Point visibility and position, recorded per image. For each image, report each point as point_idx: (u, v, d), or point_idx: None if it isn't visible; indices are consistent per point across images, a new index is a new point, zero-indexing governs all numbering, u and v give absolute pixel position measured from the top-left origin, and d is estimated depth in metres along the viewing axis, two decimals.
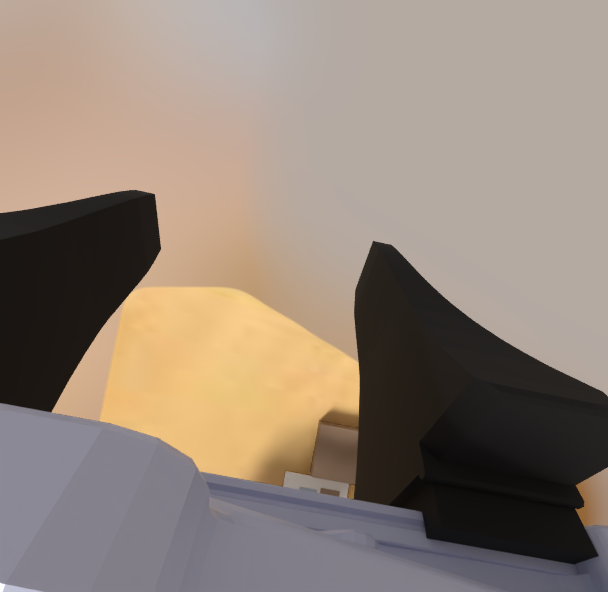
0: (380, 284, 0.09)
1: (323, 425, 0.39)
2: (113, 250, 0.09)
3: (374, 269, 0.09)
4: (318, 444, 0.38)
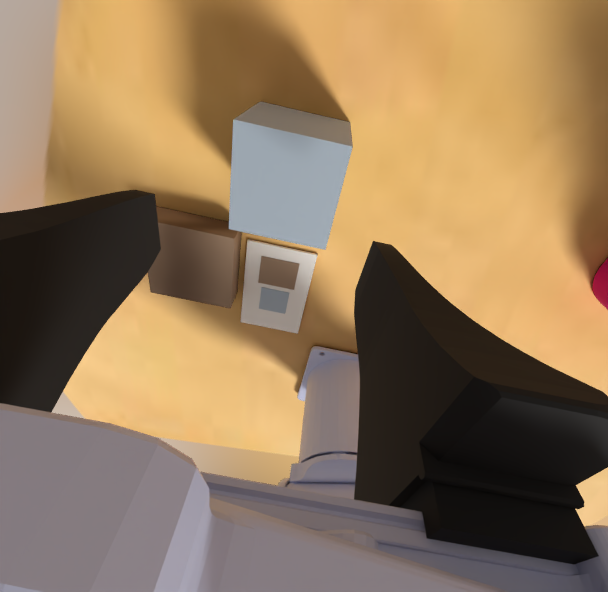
0: (380, 284, 0.09)
1: (152, 288, 0.24)
2: (113, 250, 0.09)
3: (374, 269, 0.09)
4: (182, 297, 0.24)
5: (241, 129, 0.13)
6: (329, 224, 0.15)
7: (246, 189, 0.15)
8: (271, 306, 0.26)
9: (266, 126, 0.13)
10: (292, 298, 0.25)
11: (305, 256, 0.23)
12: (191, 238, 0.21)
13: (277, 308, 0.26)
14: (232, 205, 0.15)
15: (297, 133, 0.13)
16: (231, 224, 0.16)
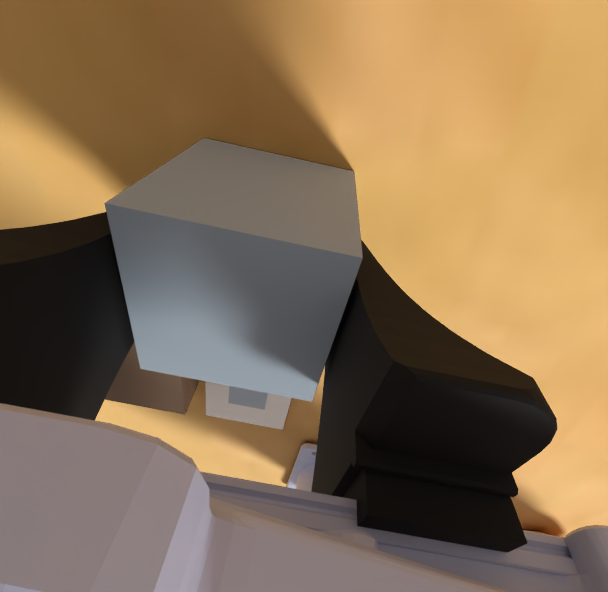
0: None
1: None
2: None
3: None
4: (116, 399, 0.17)
5: (126, 221, 0.06)
6: (317, 371, 0.08)
7: (159, 317, 0.08)
8: (245, 401, 0.19)
9: (178, 216, 0.06)
10: None
11: None
12: None
13: (253, 403, 0.19)
14: (139, 338, 0.08)
15: (245, 230, 0.06)
16: (143, 363, 0.09)
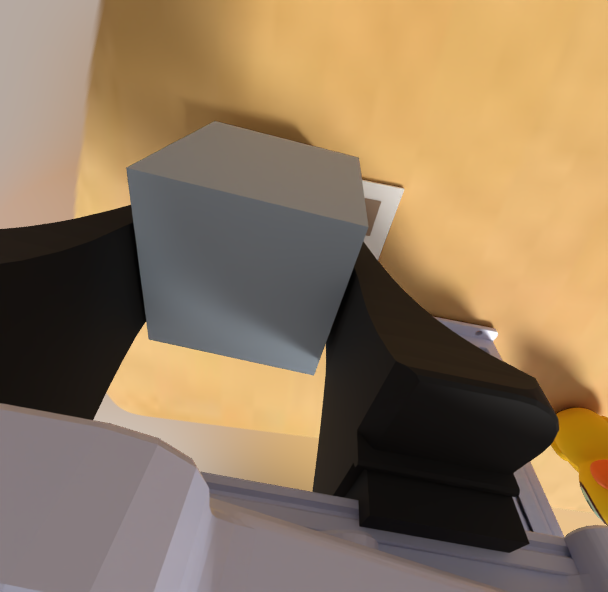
0: None
1: None
2: None
3: None
4: None
5: (145, 187, 0.07)
6: (321, 343, 0.09)
7: (170, 286, 0.08)
8: None
9: (195, 182, 0.07)
10: None
11: (389, 191, 0.19)
12: None
13: None
14: (149, 307, 0.09)
15: (258, 198, 0.07)
16: (152, 333, 0.09)
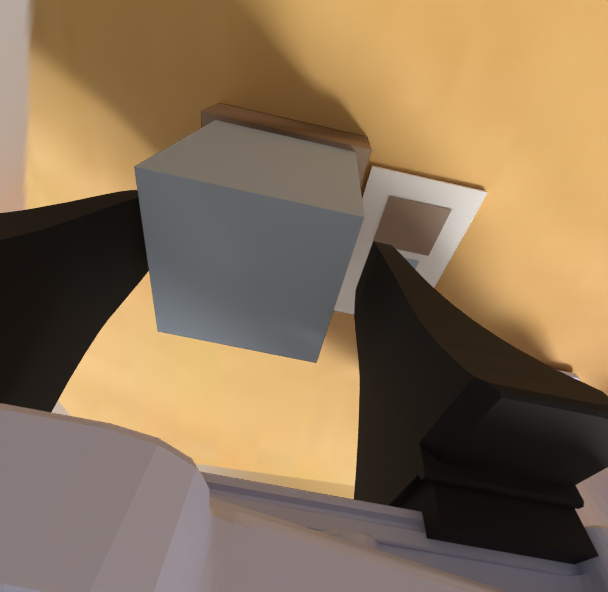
0: (380, 284, 0.09)
1: None
2: (113, 250, 0.09)
3: (374, 269, 0.09)
4: None
5: (153, 184, 0.07)
6: (322, 331, 0.09)
7: (177, 279, 0.08)
8: None
9: (199, 179, 0.07)
10: (421, 270, 0.16)
11: (466, 195, 0.14)
12: None
13: None
14: (158, 300, 0.09)
15: (259, 192, 0.07)
16: (161, 325, 0.10)
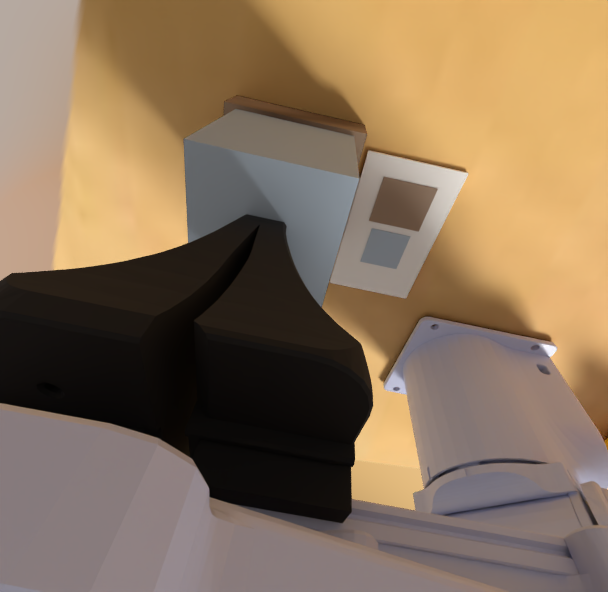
0: None
1: None
2: None
3: None
4: None
5: (196, 153, 0.09)
6: (326, 279, 0.11)
7: None
8: (378, 258, 0.19)
9: (233, 148, 0.09)
10: (412, 245, 0.18)
11: (450, 175, 0.16)
12: None
13: (387, 261, 0.19)
14: None
15: (278, 159, 0.09)
16: None
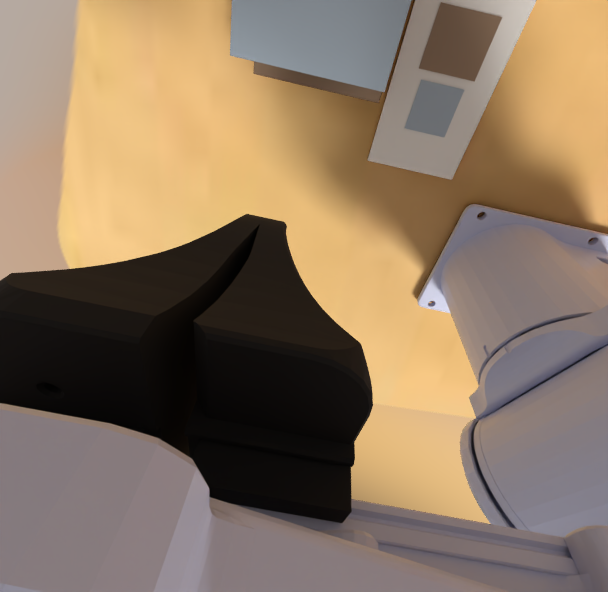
0: None
1: (256, 65, 0.15)
2: None
3: None
4: (303, 82, 0.15)
5: None
6: (396, 35, 0.09)
7: None
8: (425, 123, 0.17)
9: None
10: (465, 102, 0.16)
11: None
12: None
13: (434, 126, 0.17)
14: (236, 1, 0.09)
15: None
16: (234, 44, 0.10)
